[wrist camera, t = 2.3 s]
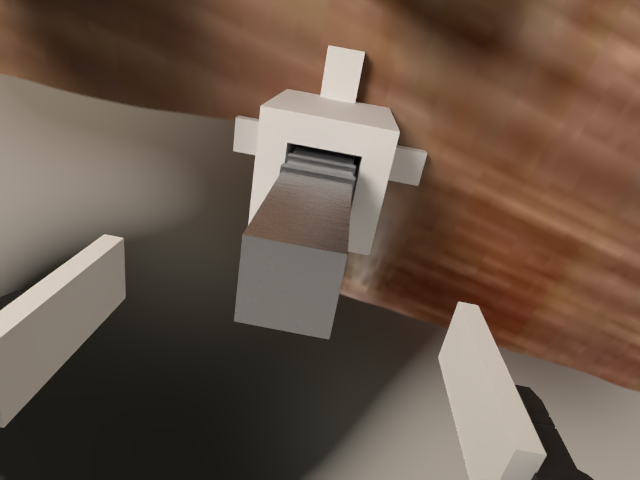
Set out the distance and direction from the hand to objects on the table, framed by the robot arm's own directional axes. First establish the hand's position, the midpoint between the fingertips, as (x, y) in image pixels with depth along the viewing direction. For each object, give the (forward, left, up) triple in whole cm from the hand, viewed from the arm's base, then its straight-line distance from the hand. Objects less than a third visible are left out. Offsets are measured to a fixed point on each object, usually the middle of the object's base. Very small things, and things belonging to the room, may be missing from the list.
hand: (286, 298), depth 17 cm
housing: (0, 0, -25) cm, 25 cm away
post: (0, 0, -25) cm, 25 cm away
